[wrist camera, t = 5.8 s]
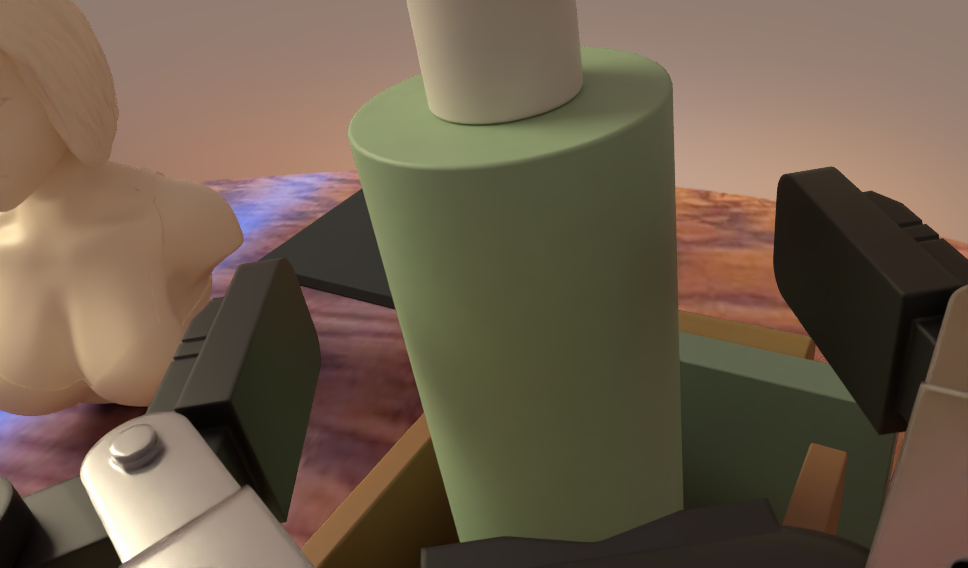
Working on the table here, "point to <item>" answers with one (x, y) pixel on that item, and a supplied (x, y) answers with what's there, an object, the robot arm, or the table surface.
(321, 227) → the drying mat
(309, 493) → the table surface
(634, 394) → the soap bottle
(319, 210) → the table surface
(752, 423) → the drawer
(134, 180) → the figurine
